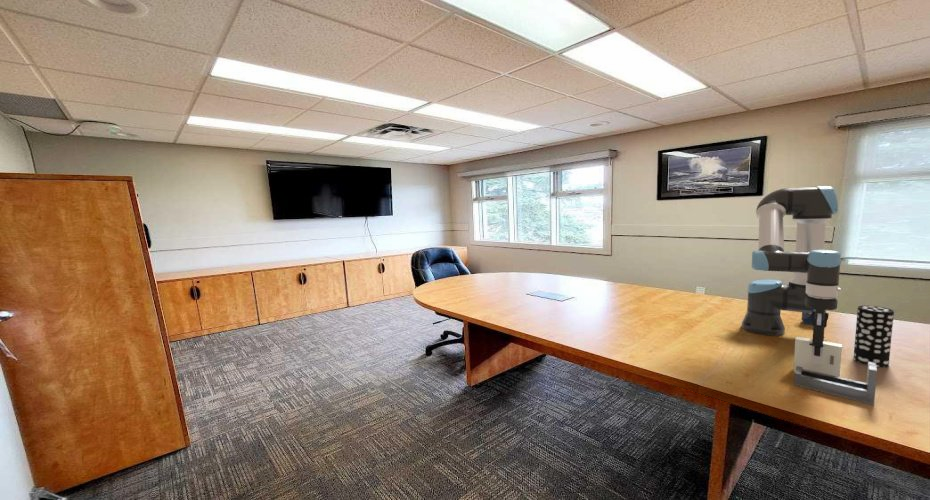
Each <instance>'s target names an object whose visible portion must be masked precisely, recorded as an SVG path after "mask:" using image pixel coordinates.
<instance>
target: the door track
mask: <svg viewBox="0 0 930 500" xmlns="http://www.w3.org/2000/svg"><path fill="white" fill-rule="evenodd" d="M877 377H878V367H876V363H874V362H868V365H867V371H866V379H865V380H866V382H865V381H860V380H859V381H858V380H855V379H850V378H846V377H842V376H840V377H837V376H833V375H828V374H824V373H819V372H814V371H810V370H805V369H803V367H799V366H797V367H796V370H795V371H794V380H793V386H795V385H796V387H799V386H800V387H801V388H803V387H804V389H807V388H808V389H807V390H811V389H813V391H815V390H816V392H819V391H820V392H819V393H823V392H824V393H823V394H827V393H828V394H827V395H831V394H832V396H836V397H839V398H844V399H848V400H852V401H856V402H860V403H864V404H868V405H873V406H874V405H875V400H876V399H875V397H876V390H877V389H876V387H877ZM800 387H799V388H800Z"/></svg>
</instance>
